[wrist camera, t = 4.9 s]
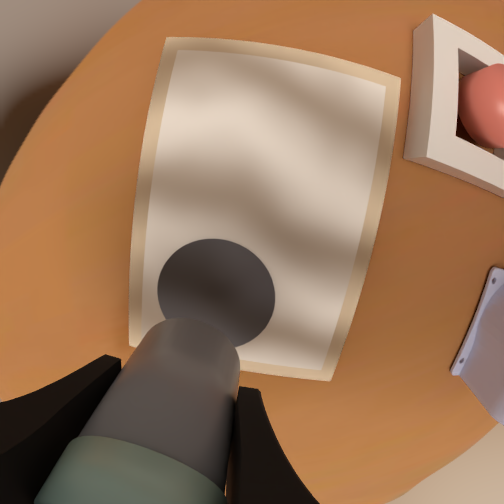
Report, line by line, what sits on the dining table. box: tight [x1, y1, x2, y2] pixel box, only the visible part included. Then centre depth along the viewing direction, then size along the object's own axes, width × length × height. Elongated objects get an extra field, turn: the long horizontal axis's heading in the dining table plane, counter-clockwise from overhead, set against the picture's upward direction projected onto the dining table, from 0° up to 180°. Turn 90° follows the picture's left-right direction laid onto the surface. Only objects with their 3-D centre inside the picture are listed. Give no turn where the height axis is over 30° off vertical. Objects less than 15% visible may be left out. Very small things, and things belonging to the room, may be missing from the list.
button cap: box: [458, 63, 504, 148], centre depth 12 cm, size 5×5×3 cm
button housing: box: [403, 14, 504, 198], centre depth 14 cm, size 10×10×3 cm
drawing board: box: [129, 37, 401, 381], centre depth 17 cm, size 20×14×1 cm
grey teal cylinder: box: [34, 318, 240, 504], centre depth 7 cm, size 4×4×8 cm
